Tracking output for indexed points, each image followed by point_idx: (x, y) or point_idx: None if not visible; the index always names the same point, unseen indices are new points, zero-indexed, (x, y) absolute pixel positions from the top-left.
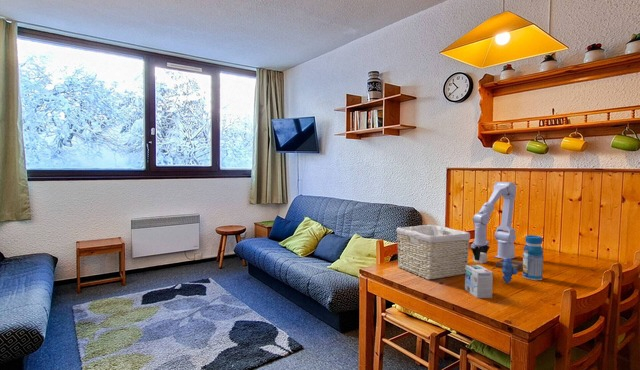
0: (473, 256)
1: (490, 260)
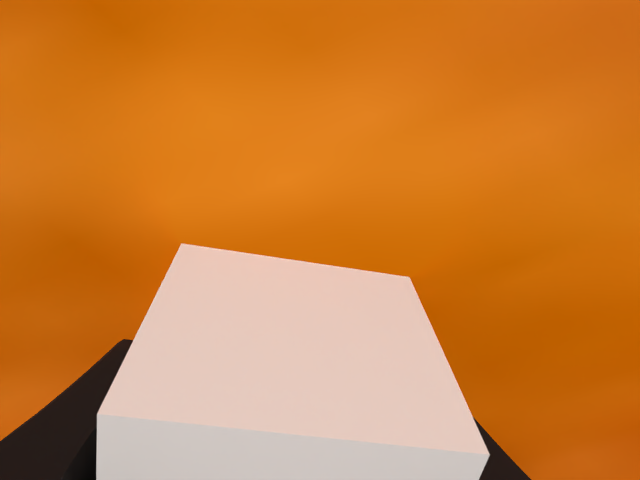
0: (142, 329)
1: (545, 442)
